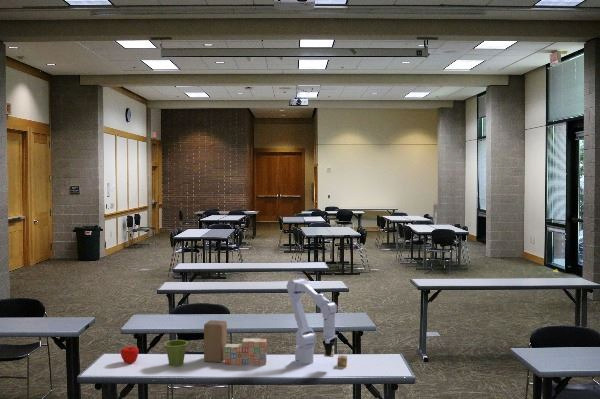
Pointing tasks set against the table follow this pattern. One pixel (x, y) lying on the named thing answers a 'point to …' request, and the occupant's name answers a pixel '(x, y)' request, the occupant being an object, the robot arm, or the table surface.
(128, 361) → the apple
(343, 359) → the oak block
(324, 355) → the maple block
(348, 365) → the board
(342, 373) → the table surface
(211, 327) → the block
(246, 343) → the stack of blocks
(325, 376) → the table surface
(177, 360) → the plant pot
